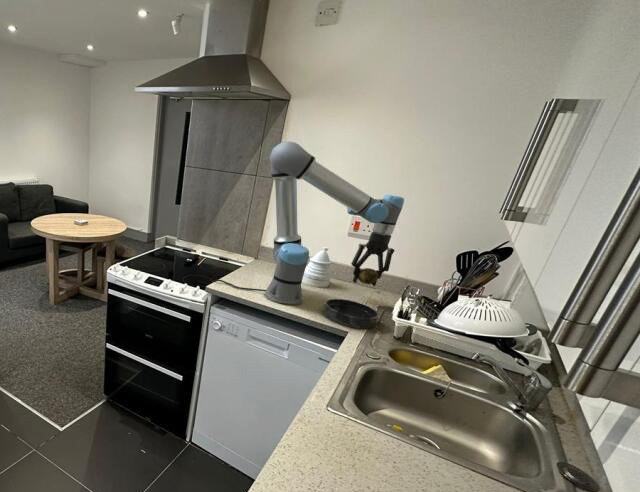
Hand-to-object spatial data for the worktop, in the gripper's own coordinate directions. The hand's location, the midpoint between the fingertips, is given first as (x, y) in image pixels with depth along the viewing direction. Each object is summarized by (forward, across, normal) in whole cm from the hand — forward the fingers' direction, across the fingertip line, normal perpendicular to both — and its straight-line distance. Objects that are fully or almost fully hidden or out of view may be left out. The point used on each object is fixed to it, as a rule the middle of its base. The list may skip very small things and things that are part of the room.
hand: (363, 283), depth 175 cm
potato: (0, 0, 0) cm, 1 cm away
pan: (+8, -10, -25) cm, 28 cm away
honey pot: (+9, -16, +17) cm, 25 cm away
